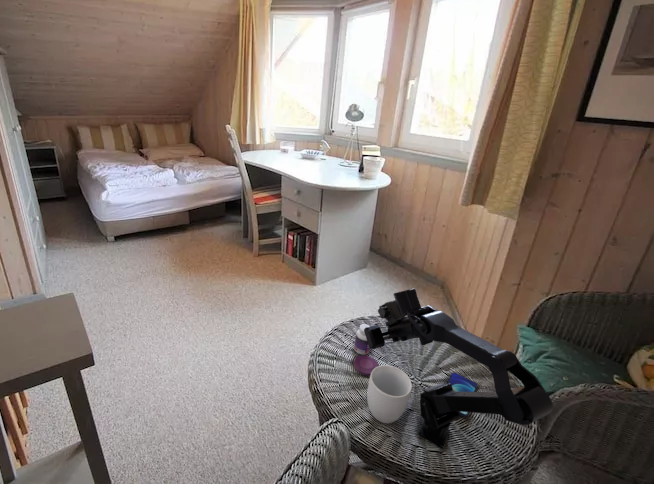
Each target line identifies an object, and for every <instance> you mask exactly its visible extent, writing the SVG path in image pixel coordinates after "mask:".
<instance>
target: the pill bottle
mask: <svg viewBox="0 0 654 484" xmlns="http://www.w3.org/2000/svg"><path fill="white" fill-rule="evenodd" d="M370 326H371V325H369V324H366V323H363V324H360V326H359V328H358V329H357V331H356V333H355V339H354V346H353V349H354V352H356V353H357V354H358V355H366V356H367V355H368V354H369V353H370V350H371V349H370V348H369V345H368V342H367V339H366V336H365V332H364V329H365V328H366V327H370Z"/></svg>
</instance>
